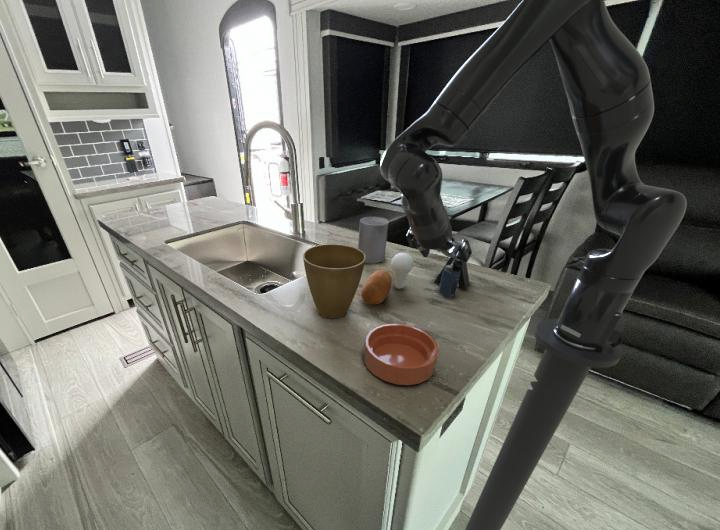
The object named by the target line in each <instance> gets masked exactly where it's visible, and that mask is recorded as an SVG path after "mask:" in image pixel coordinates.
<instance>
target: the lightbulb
mask: <svg viewBox="0 0 720 530" xmlns="http://www.w3.org/2000/svg"><path fill="white" fill-rule="evenodd" d="M390 266H391V269H392V272H393V274H394V287H395V288H397V289H400V290H401V289H402V288H404V286H405V282H406V280H407V277H408V275H409V273H410V272H411V271H412V270H413V267H414V260H413V257H412V256H411V254H409V253H406V252H399V253H396V254H395V255H394V256H393V257H392V259H391V261H390Z"/></svg>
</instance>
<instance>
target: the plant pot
mask: <svg viewBox="0 0 720 530" xmlns="http://www.w3.org/2000/svg"><path fill="white" fill-rule="evenodd" d="M302 259H303V266H304V271H305V276H306V281H307V284H308V288H309V291H310V294H311V297H312V300H313V303H314V305H315V307H316V310H317V312H318V314H319V315H320V316H321V317H323V318H324V319H329V320H336V319H341V318H343V317H345V316H346V314H347V312H348V311H349V309H350V306H351V305H352V302H353V300H354V298H355V295H356V293H357V290H358V288H359V285H360V282H361V278H362V275H363V271H364V267H365V264H366V263H365V259H366V256H365V254H364V253H363V252H362V251H361V250H359V249H358V247H355V246H351V245H348V244H347V245H346V244H338V243H337V244H336V243H326V244H324V243H323V244H319V245H315V246H311V247H309V248H308V249H306V250H305V251H304V252H303V253H302Z"/></svg>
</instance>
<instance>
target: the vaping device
mask: <svg viewBox="0 0 720 530" xmlns="http://www.w3.org/2000/svg"><path fill="white" fill-rule="evenodd" d="M445 265H446V264H445ZM461 267H462V265H461V266H460V267H458V266H456V263H455V259H454V260H453V262H452V264H451V265H446V267H445V269H444V270H443V273H442V278H441V282H440V284H439V287H438V290H439V291H438V292H439V293H440V294H442V295H443V296H445V297H446V298H448V299H453V298H455V297H456V293H457V289H458V288H457V285H458V281H459V277H460V272H461Z"/></svg>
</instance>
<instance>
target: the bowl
mask: <svg viewBox="0 0 720 530" xmlns="http://www.w3.org/2000/svg"><path fill="white" fill-rule="evenodd" d="M439 349H440V348H439V346H438V343H437V342H436V340H435V339H434V338H433V337H432V336H431V335H430V334H428V333H427V332H425V331H424V330H422V329H420V328H417V327H415V326H412V325H407V324H403V323H386V324H382V325H379V326H376V327H373V328H372V329H371V330H370V331H369V332H368V333H367V334H366V337H365V339H364V351H363V354H364V355H363V358H364V359H363V361H364V363H365V366H366V367H367V369H368V370H369V371H370V372H371V373H372V374H373V375H374V376H376V377H377V378H379V379H381V380H382V381H384V382H387V383H390V384H394V385H398V386H399V385H400V386H413V385H418V384H421V383H423V382H426V381H427V380H429V379H430V378H431V377H432V376H433V374H434V373H435V370H436V365H437V361H438V357H439V352H440V350H439Z"/></svg>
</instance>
